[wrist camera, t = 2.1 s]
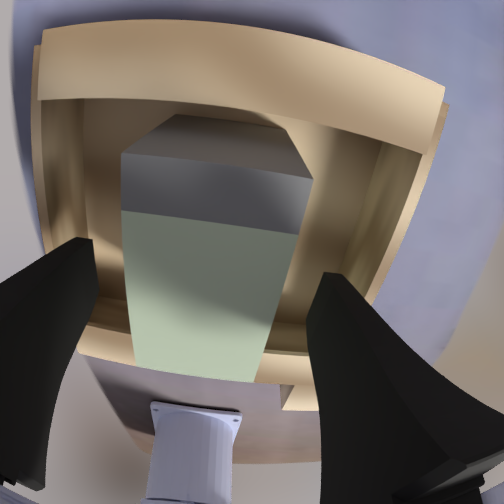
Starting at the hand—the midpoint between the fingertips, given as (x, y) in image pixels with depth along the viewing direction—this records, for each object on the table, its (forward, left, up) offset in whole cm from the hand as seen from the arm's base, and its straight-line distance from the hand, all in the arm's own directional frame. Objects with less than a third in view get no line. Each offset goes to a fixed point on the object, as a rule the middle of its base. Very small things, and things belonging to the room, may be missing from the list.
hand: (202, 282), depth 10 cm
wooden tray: (0, 0, -6) cm, 6 cm away
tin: (0, 0, -5) cm, 5 cm away
